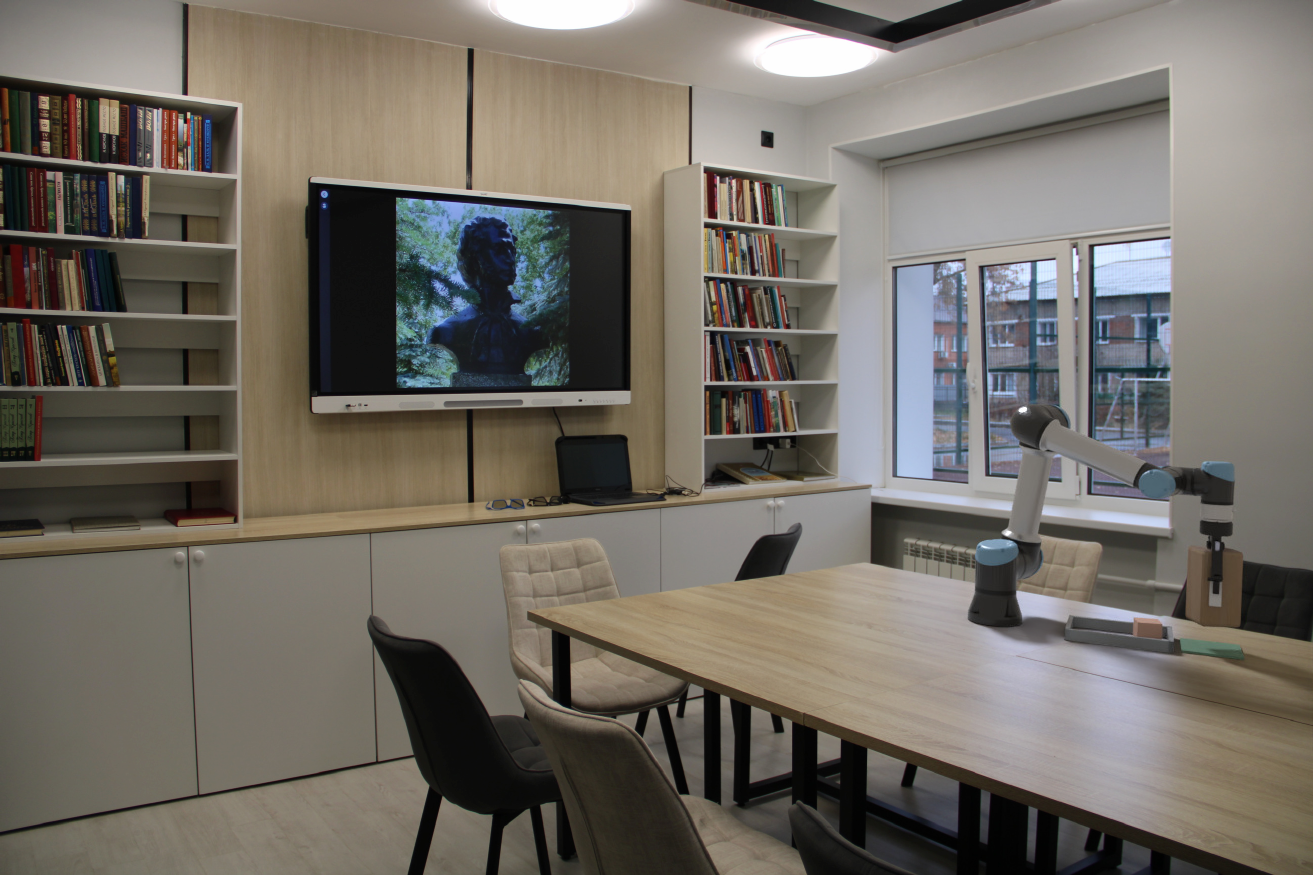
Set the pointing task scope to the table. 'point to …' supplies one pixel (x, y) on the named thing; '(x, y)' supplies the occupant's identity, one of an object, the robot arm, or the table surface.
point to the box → (1147, 628)
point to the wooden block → (1199, 586)
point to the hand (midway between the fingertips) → (1213, 601)
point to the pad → (1211, 648)
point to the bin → (1116, 638)
